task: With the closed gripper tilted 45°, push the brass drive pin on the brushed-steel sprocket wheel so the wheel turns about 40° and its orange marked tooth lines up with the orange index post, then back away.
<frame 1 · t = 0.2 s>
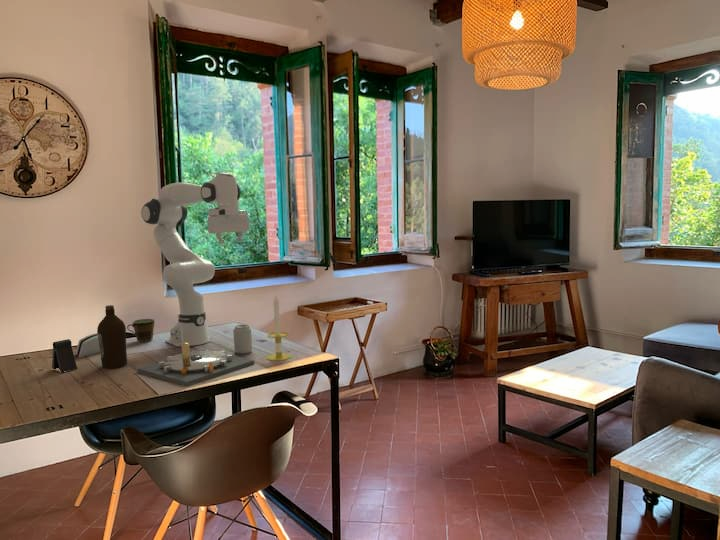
hand: (230, 242, 237), 48 cm above the table, tool pointing down, fingers open, 8 cm apart
sprocket: (195, 350, 217), point 7 cm above the table, hinge at 0.0°
index plate: (196, 367, 218), on the table
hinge: (95, 353, 249), on the table
olive oil: (114, 366, 226), on the table
candle: (279, 358, 230), on the table
door stopper: (64, 370, 222), on the table
ceramic cup: (142, 341, 267), on the table
can: (243, 352, 240), on the table
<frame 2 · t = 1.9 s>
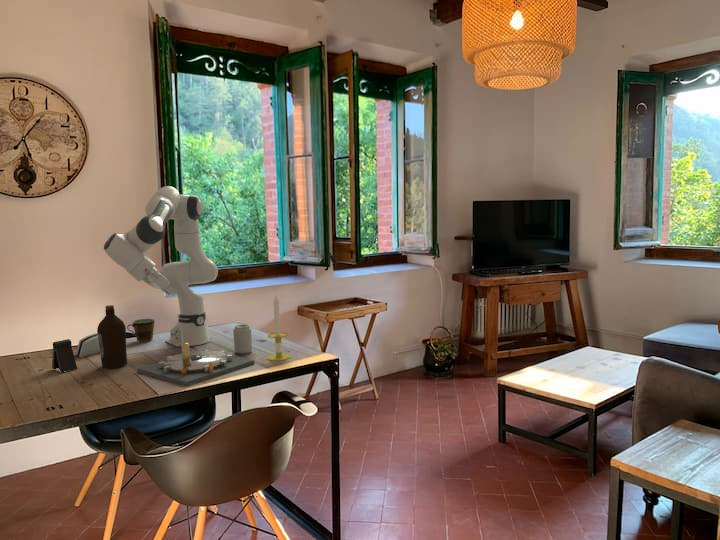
hand: (172, 294, 208), 31 cm above the table, tool tilted 45°, fingers open, 8 cm apart
nothing on the table moved.
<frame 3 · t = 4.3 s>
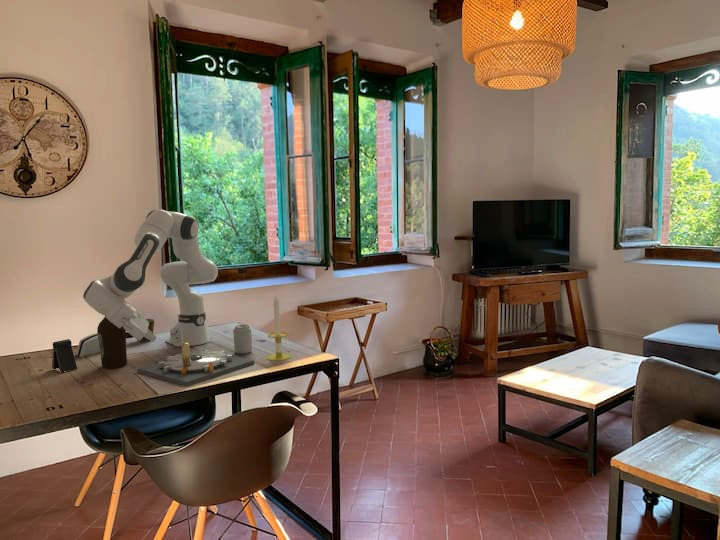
hand: (155, 339, 203), 15 cm above the table, tool tilted 45°, fingers closed
nothing on the table moved.
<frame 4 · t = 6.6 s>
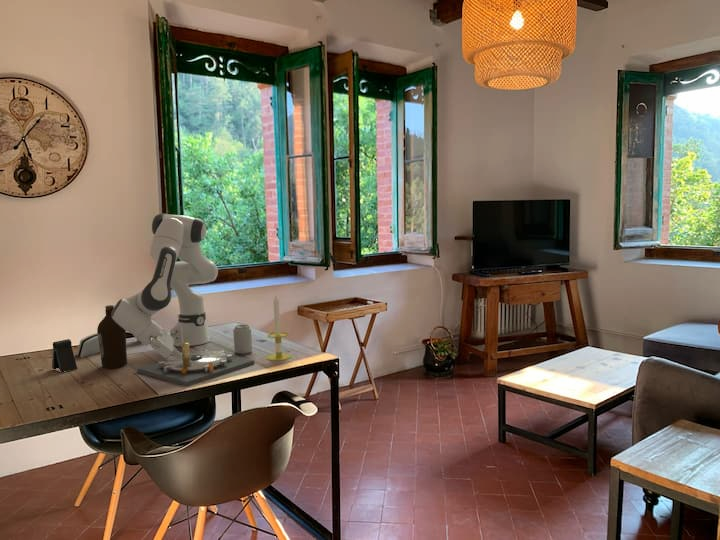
hand: (180, 356, 206), 8 cm above the table, tool tilted 45°, fingers closed, pressing on sprocket
sprocket: (195, 350, 217), point 7 cm above the table, hinge at 0.1°, touching gripper
everything else where it was.
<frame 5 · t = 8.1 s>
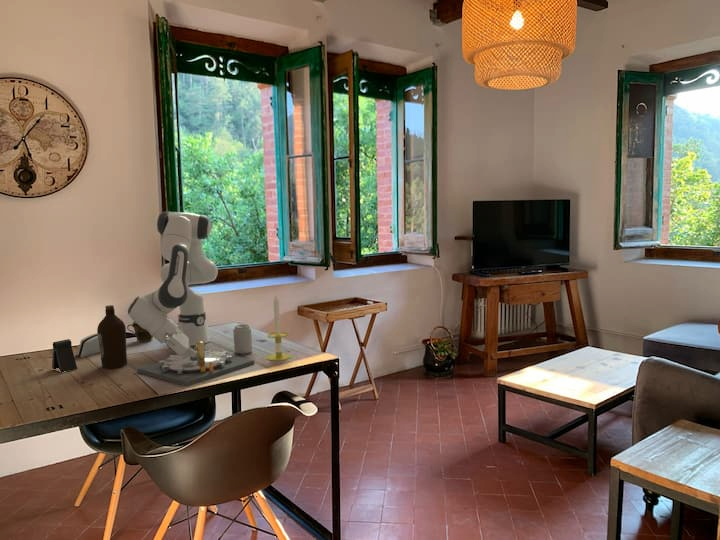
hand: (195, 355, 207), 8 cm above the table, tool tilted 45°, fingers closed, pressing on sprocket
sprocket: (195, 350, 217), point 7 cm above the table, hinge at 29.4°, touching gripper
everything else where it was.
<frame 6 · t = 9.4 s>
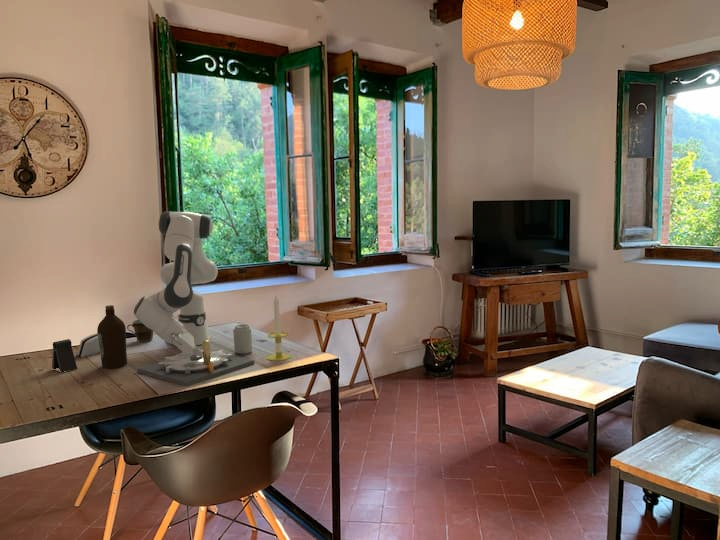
hand: (201, 354, 208), 8 cm above the table, tool tilted 45°, fingers closed, pressing on sprocket
sprocket: (195, 350, 217), point 7 cm above the table, hinge at 41.8°, touching gripper
everything else where it was.
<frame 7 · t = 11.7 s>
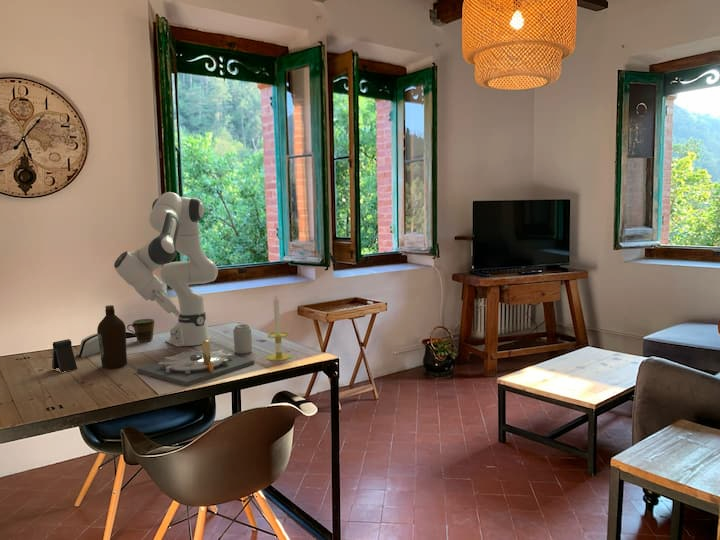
hand: (178, 314, 210), 23 cm above the table, tool tilted 40°, fingers closed
sprocket: (195, 350, 217), point 7 cm above the table, hinge at 41.9°
everything else where it was.
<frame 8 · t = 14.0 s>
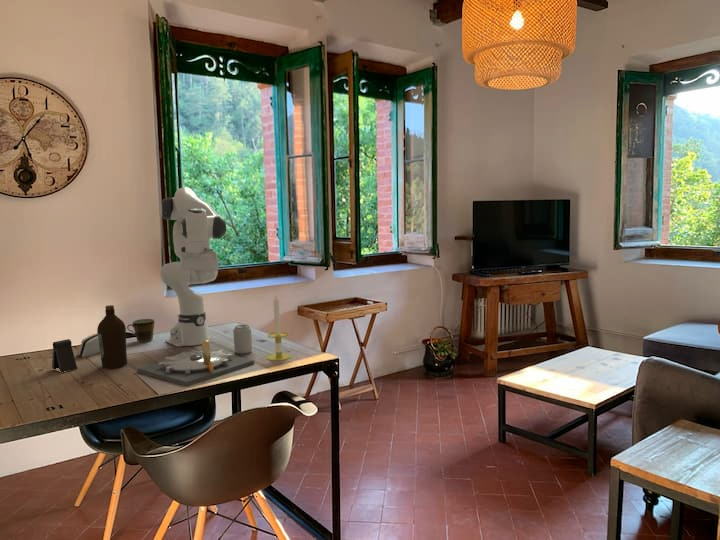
hand: (201, 281, 227), 33 cm above the table, tool pointing down, fingers closed
nothing on the table moved.
at the end: sprocket at +42° (first picture: +0°) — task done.
